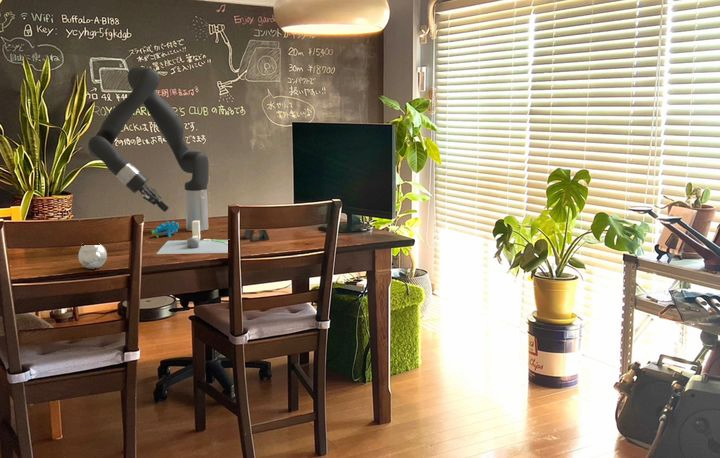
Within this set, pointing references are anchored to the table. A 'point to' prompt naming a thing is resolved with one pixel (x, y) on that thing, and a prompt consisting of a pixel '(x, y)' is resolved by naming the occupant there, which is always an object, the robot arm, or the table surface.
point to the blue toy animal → (166, 229)
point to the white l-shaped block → (194, 235)
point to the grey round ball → (92, 256)
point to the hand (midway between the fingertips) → (166, 209)
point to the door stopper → (263, 236)
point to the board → (204, 247)
